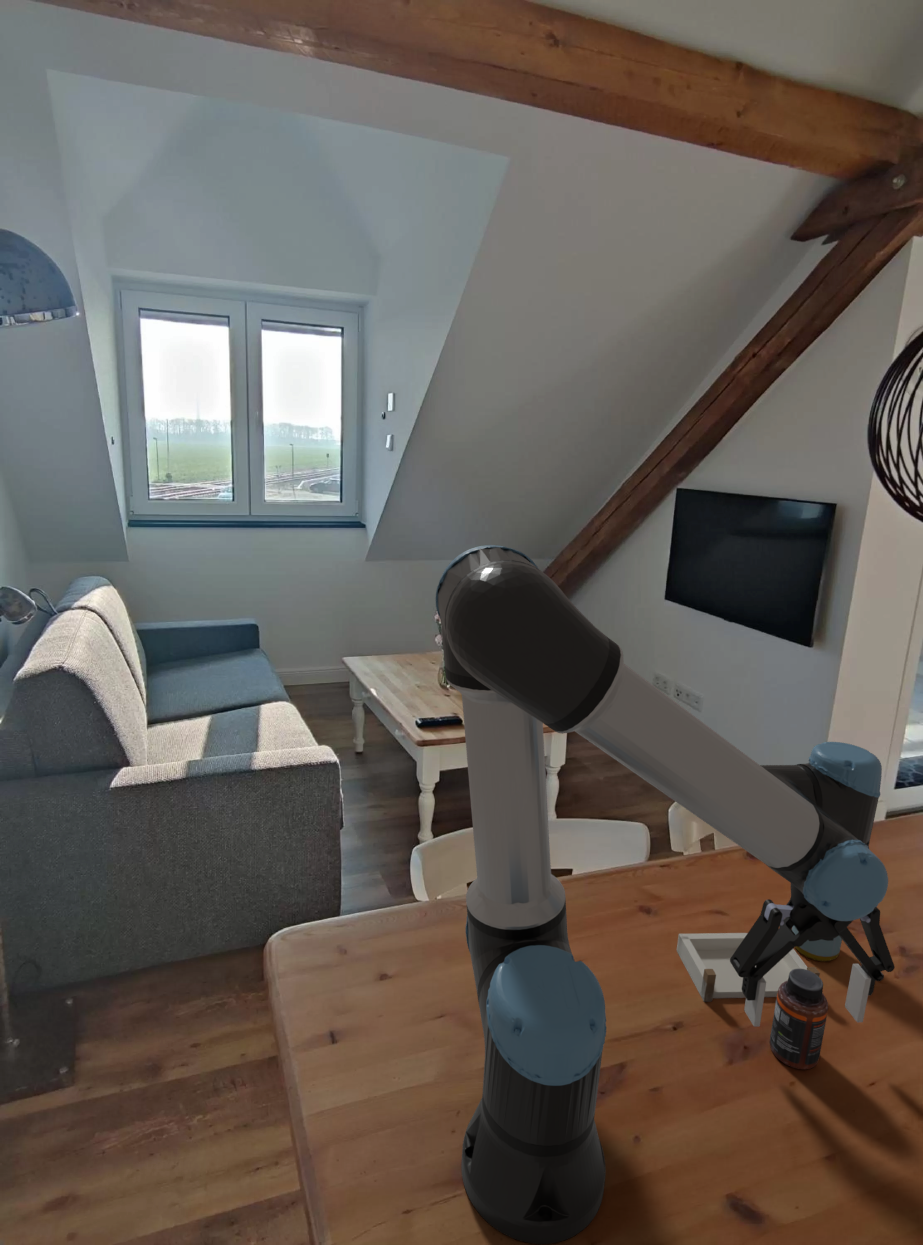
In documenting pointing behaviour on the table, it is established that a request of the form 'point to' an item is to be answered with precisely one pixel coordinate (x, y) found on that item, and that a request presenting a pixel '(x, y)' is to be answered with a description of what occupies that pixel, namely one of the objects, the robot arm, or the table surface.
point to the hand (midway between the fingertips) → (802, 1016)
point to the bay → (727, 965)
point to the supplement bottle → (799, 1020)
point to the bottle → (820, 948)
